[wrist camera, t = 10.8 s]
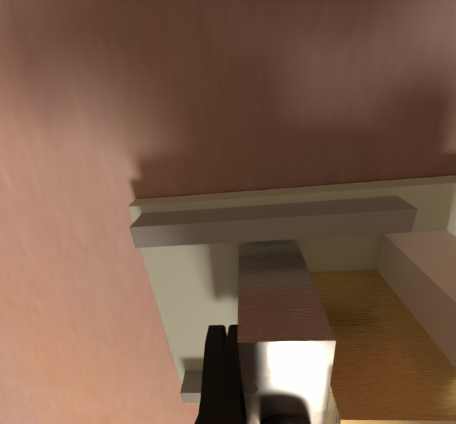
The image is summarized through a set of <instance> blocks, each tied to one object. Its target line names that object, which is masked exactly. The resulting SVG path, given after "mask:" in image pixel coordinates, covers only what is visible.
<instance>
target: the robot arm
mask: <svg viewBox="0 0 456 424" xmlns="http://www.w3.org/2000/svg"><path fill="white" fill-rule="evenodd" d="M237 337H238V324H233V325H230V326H229V327H228V333H226V327H225V326H224V325H209V327H208V331H207V335H206V340H205V347H204V359H203V372H202V385H201V398H200V406H199V414H198V417H197V419H196V421H195V424H247V418H246V409H245V401H244V393H243V385H242V376H241V368H240V360H239V352H238V343H237Z"/></svg>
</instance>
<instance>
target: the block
mask: <svg viewBox="0 0 456 424" xmlns="http://www.w3.org/2000/svg"><path fill="white" fill-rule="evenodd" d="M309 273H310V276H311V278H312V281H313V283H314V286H315V288H316V291H317V293H318V296H319V299H320V301H321V304H322V306H323V309H324V311H325V314H326V316H327V319H328V322H329V324H330V327H331V329H332V332H333V334H334V337H335V339H336V344H335V352H334V359H333V367H332V374H331V382H330V388H329V396H328V403H327V411H326V418H325V424H456V368H455V367H454V366H453V365H452V363H451V362H450V361H449V360H448V358H447V357H446V356H445V355H444V353H443V352H442V351H441V350H440V348H439V347H438V346H437V345H436V343H435V342H434V341H433V340H432V338H431V337H430V336H429V335H428V333H427V332H426V331H425V329H424V328H423V327H422V326H421V324H420V323H419V322H418V321H417V319H416V318H415V317H414V316H413V314H412V313H411V312H410V311H409V309H408V308H407V307H406V306H405V304H404V303H403V302H402V301H401V299H400V298H399V297H398V296H397V294H396V293H395V292H394V291H393V289H392V288H391V287H390V286H389V284H388V283H387V282H386V280H385V279H384V278H383V277H382V275H381V274H380V273H379V272H378V270H377V269H366V270H343V271H321V272H309Z"/></svg>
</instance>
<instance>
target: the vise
mask: <svg viewBox="0 0 456 424" xmlns="http://www.w3.org/2000/svg"><path fill="white" fill-rule="evenodd" d="M128 209H129V212H130V216H131V219H132V222H133V224H132V225H131V226H130V231H131V234H132V237H133V241H134V244H135V247H136V248H140V249H141V252H142V256H143V259H144V263H145V266H146V269H147V273H148V276H149V279H150V283H151V286H152V289H153V293H154V296H155V299H156V303H157V306H158V309H159V313H160V316H161V319H162V323H163V326H164V329H165V333H166V336H167V339H168V343H169V346H170V349H171V353H172V356H173V359H174V363H175V366H176V369H177V373H178V376H179V379H180V383H183V384H182V388H181V396H182V399H183V402H200V398H201V385H202V372H203V359H204V347H205V340H206V335H207V331H208V327H209V325H224V326H225V327H226V333H228V327H229V326H230V325H233V324H238V274H239V246H247V245H265V244H283V243H298V245H299V248H300V250H301V253H302V255H303V258H304V260H305V263H306V265H307V268H308V271H309V272H321V271H343V270H366V269H377V270H378V272H379V273H380V274H381V275H382V277H383V278H384V279H385V280H386V282H387V283H388V284H389V286H390V287H391V288H392V289H393V291H394V292H395V293H396V294H397V296H398V297H399V298H400V299H401V301H402V302H403V303H404V304H405V306H406V307H407V308H408V309H409V311H410V312H411V313H412V314H413V316H414V317H415V318H416V319H417V321H418V322H419V323H420V324H421V326H422V327H423V328H424V329H425V331H426V332H427V333H428V335H429V336H430V337H431V338H432V340H433V341H434V342H435V343H436V345H437V346H438V347H439V348H440V350H441V351H442V352H443V353H444V355H445V356H446V357H447V358H448V360H449V361H450V362H451V363H452V365H453V366H454V367H455V368H456V175H452V176H438V177H425V178H412V179H399V180H385V181H372V182H359V183H346V184H332V185H319V186H306V187H293V188H279V189H266V190H253V191H240V192H226V193H213V194H200V195H187V196H173V197H160V198H147V199H135V200H134V201H133V202H132V203H131V204H130V205H129V206H128Z"/></svg>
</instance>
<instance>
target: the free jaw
mask: <svg viewBox="0 0 456 424" xmlns="http://www.w3.org/2000/svg"><path fill="white" fill-rule="evenodd" d="M237 343H238V352H239V360H240V368H241V376H242V385H243V393H244V401H245V409H246V418H247V424H325V418H326V411H327V403H328V396H329V388H330V382H331V374H332V367H333V359H334V352H335V344H336V339H335V337H334V334H333V332H332V329H331V327H330V324H329V322H328V319H327V316H326V314H325V311H324V309H323V306H322V304H321V301H320V299H319V296H318V293H317V291H316V288H315V286H314V283H313V281H312V278H311V276H310V273H309V271H308V268H307V265H306V263H305V260H304V258H303V255H302V253H301V250H300V248H299V245H298V243H283V244H265V245H247V246H239V274H238V337H237Z"/></svg>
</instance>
